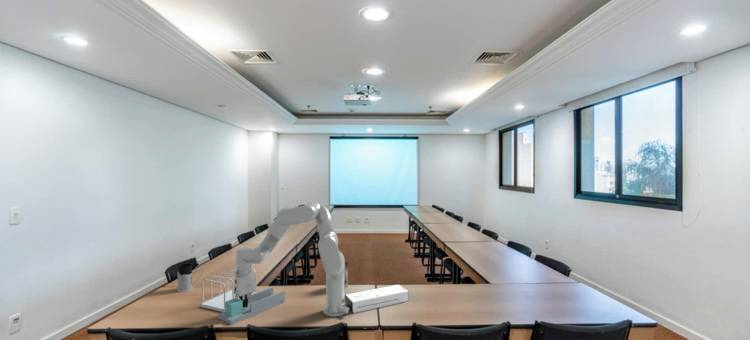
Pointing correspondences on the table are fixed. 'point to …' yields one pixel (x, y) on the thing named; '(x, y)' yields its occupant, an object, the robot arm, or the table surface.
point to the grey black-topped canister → (185, 277)
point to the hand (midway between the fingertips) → (244, 306)
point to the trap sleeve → (256, 305)
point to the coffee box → (346, 275)
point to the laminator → (376, 298)
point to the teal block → (233, 307)
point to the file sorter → (220, 300)
